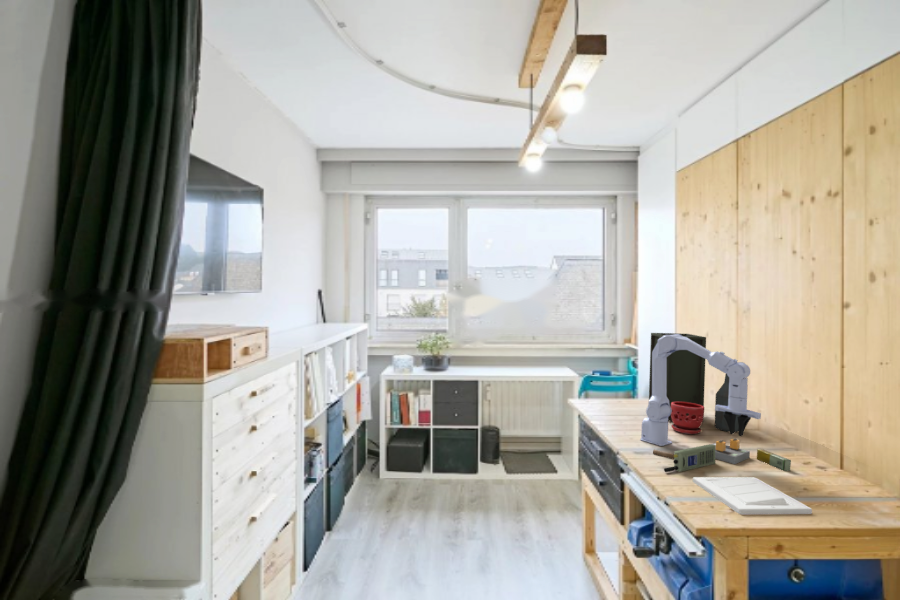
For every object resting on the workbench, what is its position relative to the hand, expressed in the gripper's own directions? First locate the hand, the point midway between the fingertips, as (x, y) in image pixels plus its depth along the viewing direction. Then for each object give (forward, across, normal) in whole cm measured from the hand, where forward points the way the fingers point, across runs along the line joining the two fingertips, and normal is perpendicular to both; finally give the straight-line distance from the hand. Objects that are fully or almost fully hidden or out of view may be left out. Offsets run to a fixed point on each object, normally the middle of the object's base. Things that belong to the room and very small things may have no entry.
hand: (736, 434), depth 173 cm
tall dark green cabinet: (+10, +47, -44) cm, 66 cm away
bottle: (+10, +22, -44) cm, 50 cm away
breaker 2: (+7, +3, -7) cm, 10 cm away
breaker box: (+10, +5, -4) cm, 12 cm away
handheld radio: (+10, +6, +20) cm, 23 cm away
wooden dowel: (+10, +16, +16) cm, 25 cm away
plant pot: (+10, +30, -24) cm, 40 cm away
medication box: (+10, -9, -9) cm, 16 cm away
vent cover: (+11, -16, +28) cm, 34 cm away
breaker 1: (+7, +5, 0) cm, 9 cm away
